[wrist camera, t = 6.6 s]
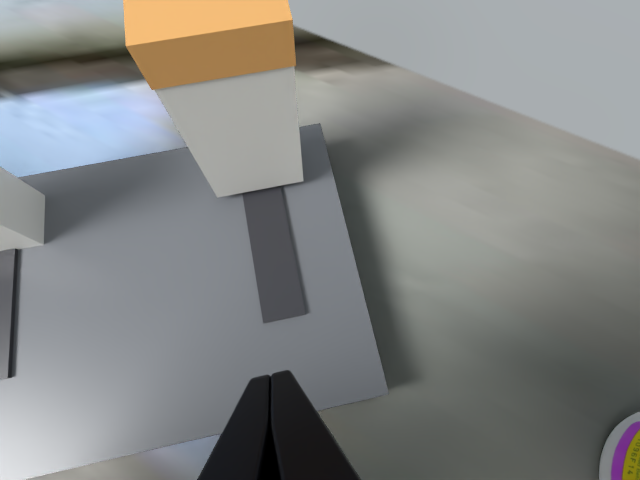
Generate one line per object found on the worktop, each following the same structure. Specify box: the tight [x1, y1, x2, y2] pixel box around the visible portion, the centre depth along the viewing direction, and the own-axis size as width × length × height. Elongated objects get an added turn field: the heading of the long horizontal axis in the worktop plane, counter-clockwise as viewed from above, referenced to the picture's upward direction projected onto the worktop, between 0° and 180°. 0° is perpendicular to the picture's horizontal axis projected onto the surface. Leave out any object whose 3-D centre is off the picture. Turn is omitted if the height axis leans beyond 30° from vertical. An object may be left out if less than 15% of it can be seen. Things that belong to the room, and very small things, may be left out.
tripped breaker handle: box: [123, 0, 303, 198], centre depth 14 cm, size 3×4×8 cm, turn 102°
